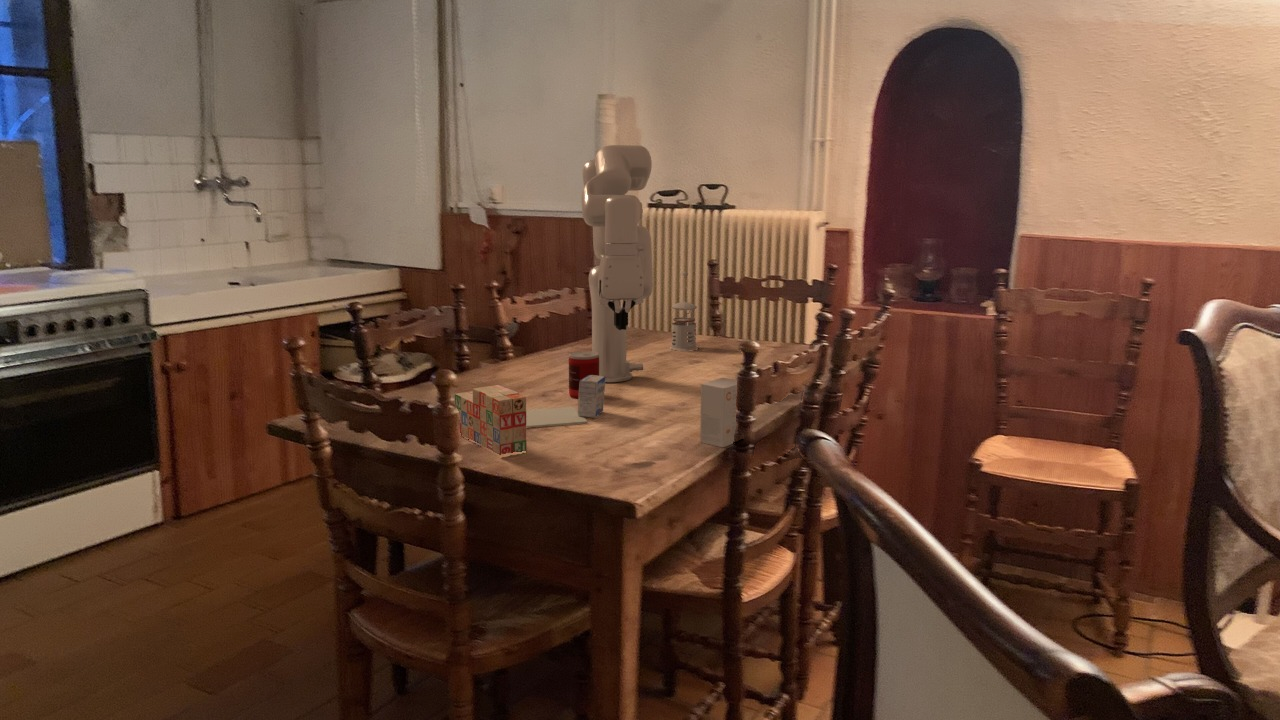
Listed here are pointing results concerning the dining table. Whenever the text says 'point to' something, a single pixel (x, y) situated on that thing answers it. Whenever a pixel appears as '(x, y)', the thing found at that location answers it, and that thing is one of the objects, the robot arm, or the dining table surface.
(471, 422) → the stack of blocks
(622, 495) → the dining table surface
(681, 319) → the grey lantern
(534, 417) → the mat
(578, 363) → the canned food
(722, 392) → the small box
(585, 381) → the medicine box
